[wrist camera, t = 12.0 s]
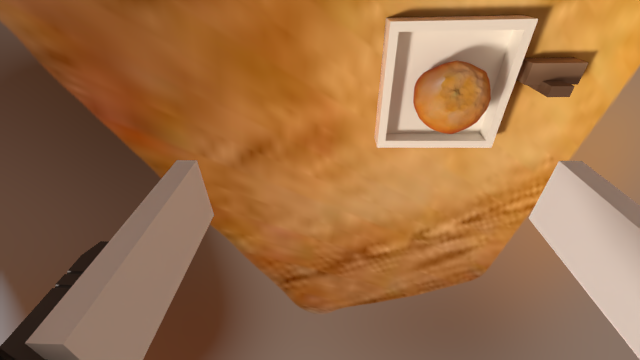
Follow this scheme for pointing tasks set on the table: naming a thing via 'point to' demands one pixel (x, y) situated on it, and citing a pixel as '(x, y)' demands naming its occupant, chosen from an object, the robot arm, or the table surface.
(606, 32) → the table surface
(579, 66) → the block
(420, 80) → the fruit
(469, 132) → the dish
